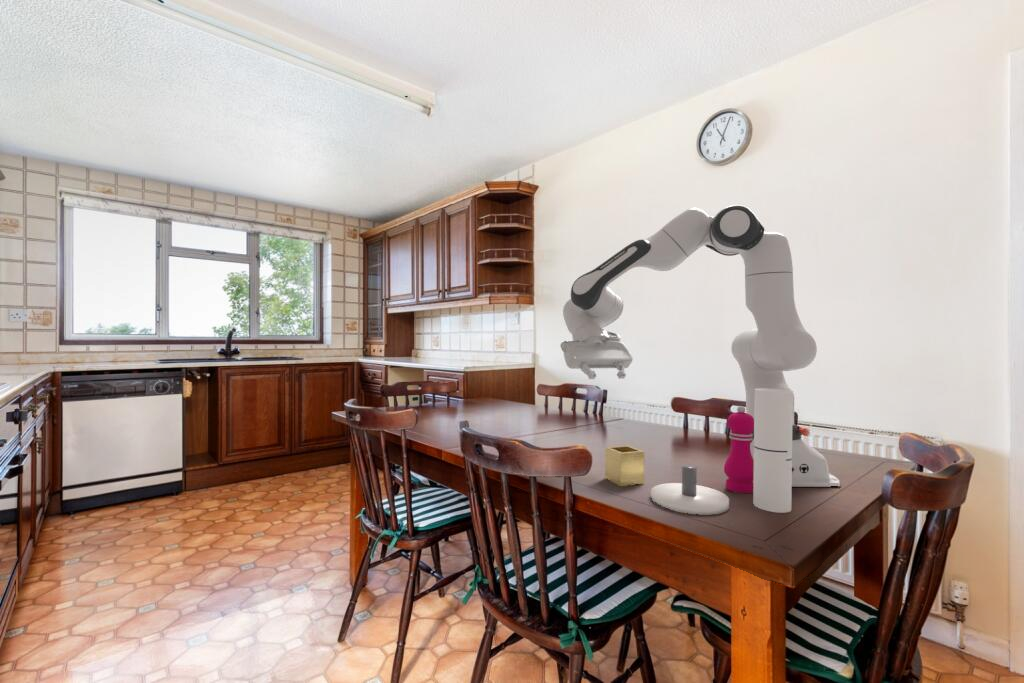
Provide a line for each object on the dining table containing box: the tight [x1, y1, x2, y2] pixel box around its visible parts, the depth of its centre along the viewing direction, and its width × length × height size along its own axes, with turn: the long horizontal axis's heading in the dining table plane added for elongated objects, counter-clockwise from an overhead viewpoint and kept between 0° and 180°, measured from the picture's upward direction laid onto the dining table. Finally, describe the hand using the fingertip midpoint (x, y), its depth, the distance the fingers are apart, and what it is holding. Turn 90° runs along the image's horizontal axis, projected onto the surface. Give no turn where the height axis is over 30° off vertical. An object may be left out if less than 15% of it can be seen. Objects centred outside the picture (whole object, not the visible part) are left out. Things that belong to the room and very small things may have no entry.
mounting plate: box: [650, 464, 730, 516], centre depth 102 cm, size 16×16×8 cm
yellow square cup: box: [604, 444, 645, 487], centre depth 116 cm, size 7×7×8 cm
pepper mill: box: [723, 405, 754, 494], centre depth 110 cm, size 7×7×20 cm
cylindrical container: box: [752, 388, 794, 514], centre depth 99 cm, size 7×7×25 cm
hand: (608, 377), depth 127 cm, fingers open, 8 cm apart
